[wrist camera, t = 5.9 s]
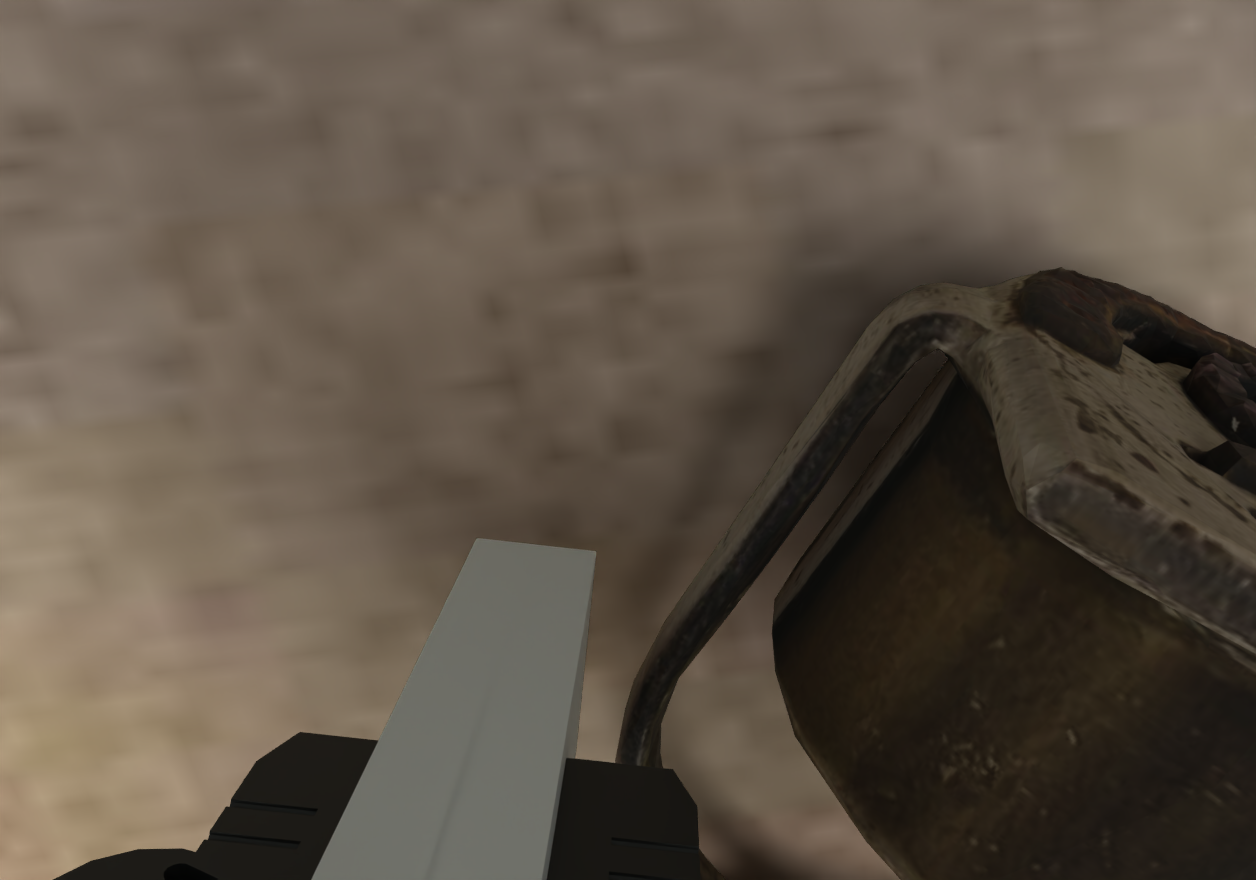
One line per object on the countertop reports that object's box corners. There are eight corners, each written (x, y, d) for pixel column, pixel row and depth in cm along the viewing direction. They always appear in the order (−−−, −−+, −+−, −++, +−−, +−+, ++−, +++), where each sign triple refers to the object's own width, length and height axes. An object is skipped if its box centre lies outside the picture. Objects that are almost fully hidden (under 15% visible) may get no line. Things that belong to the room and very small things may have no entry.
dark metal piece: (706, 57, 12) (1748, 171, 10) (681, 705, 20) (1236, 852, 18) (427, 448, 7) (2515, 901, 4) (548, 1100, 15) (1299, 1381, 13)
